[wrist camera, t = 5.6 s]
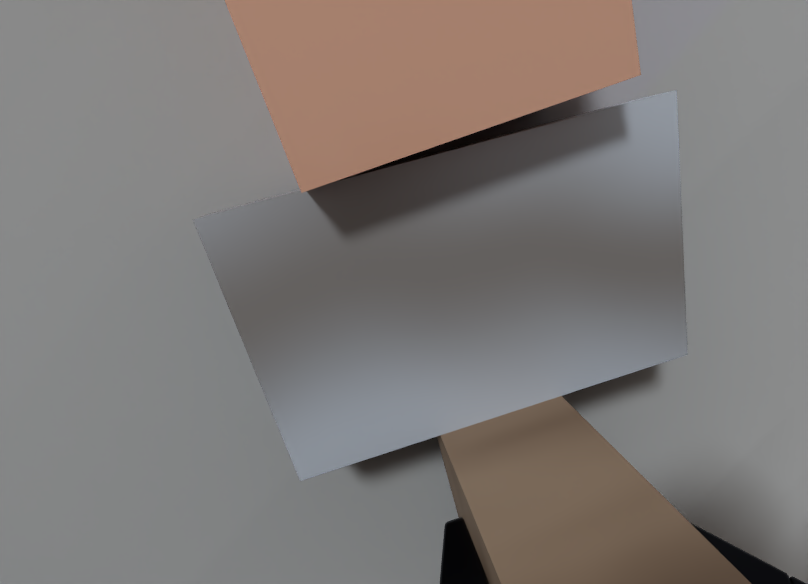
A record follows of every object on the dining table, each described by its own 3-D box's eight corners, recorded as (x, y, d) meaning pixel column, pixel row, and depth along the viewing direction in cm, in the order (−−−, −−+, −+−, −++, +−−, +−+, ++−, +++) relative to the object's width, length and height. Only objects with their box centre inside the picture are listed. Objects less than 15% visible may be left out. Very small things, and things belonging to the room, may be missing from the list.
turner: (670, 610, 12) (885, 890, 7) (407, 710, 12) (460, 1087, 7) (635, 99, 8) (1090, -7, 3) (210, 212, 7) (-19, 295, 2)
